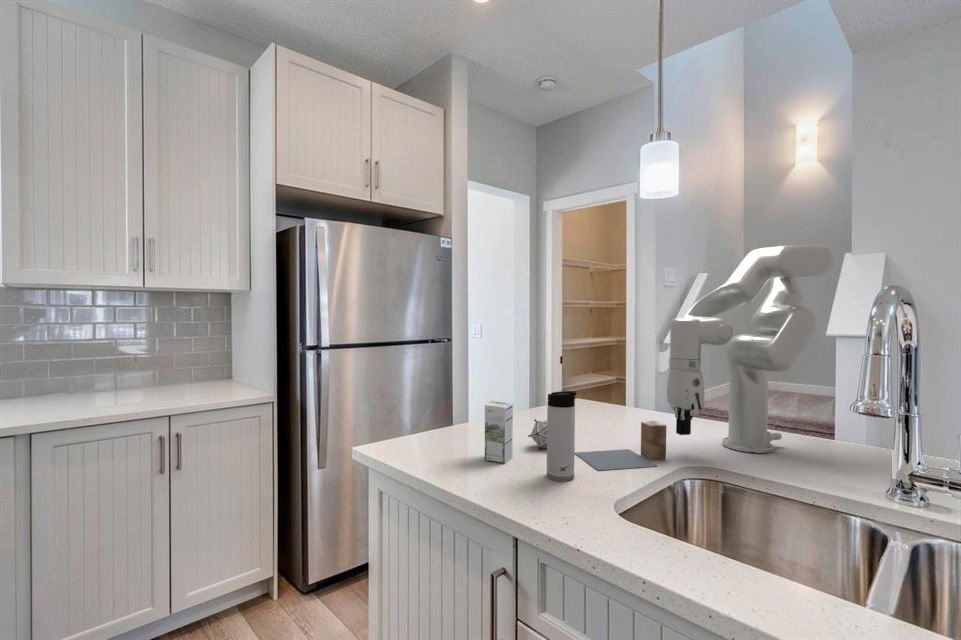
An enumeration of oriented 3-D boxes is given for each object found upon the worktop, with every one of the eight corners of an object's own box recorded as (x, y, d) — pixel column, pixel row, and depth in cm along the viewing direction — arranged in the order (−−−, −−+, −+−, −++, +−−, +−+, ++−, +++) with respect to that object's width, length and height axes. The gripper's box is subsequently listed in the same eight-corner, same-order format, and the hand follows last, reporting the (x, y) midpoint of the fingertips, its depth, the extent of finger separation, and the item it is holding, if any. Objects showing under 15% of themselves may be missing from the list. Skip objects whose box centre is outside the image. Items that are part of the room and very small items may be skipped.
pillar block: (656, 454, 130) (656, 420, 130) (665, 459, 126) (666, 424, 125) (640, 455, 129) (641, 421, 129) (650, 460, 125) (650, 425, 124)
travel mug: (569, 484, 108) (570, 394, 107) (542, 478, 112) (543, 391, 111) (579, 475, 113) (580, 389, 113) (553, 470, 117) (554, 387, 116)
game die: (550, 463, 133) (561, 440, 127) (521, 450, 135) (531, 427, 129) (558, 440, 140) (568, 417, 134) (530, 428, 142) (539, 405, 136)
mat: (629, 449, 134) (629, 449, 134) (657, 466, 120) (657, 465, 120) (574, 453, 130) (574, 452, 130) (597, 471, 116) (597, 470, 116)
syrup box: (513, 457, 126) (513, 401, 126) (504, 464, 121) (505, 406, 120) (493, 454, 129) (493, 400, 128) (483, 461, 123) (484, 404, 123)
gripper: (716, 368, 122) (715, 441, 122) (680, 361, 136) (678, 426, 137) (690, 368, 120) (688, 442, 121) (656, 361, 135) (654, 427, 135)
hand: (683, 433), depth 129 cm, fingers closed
